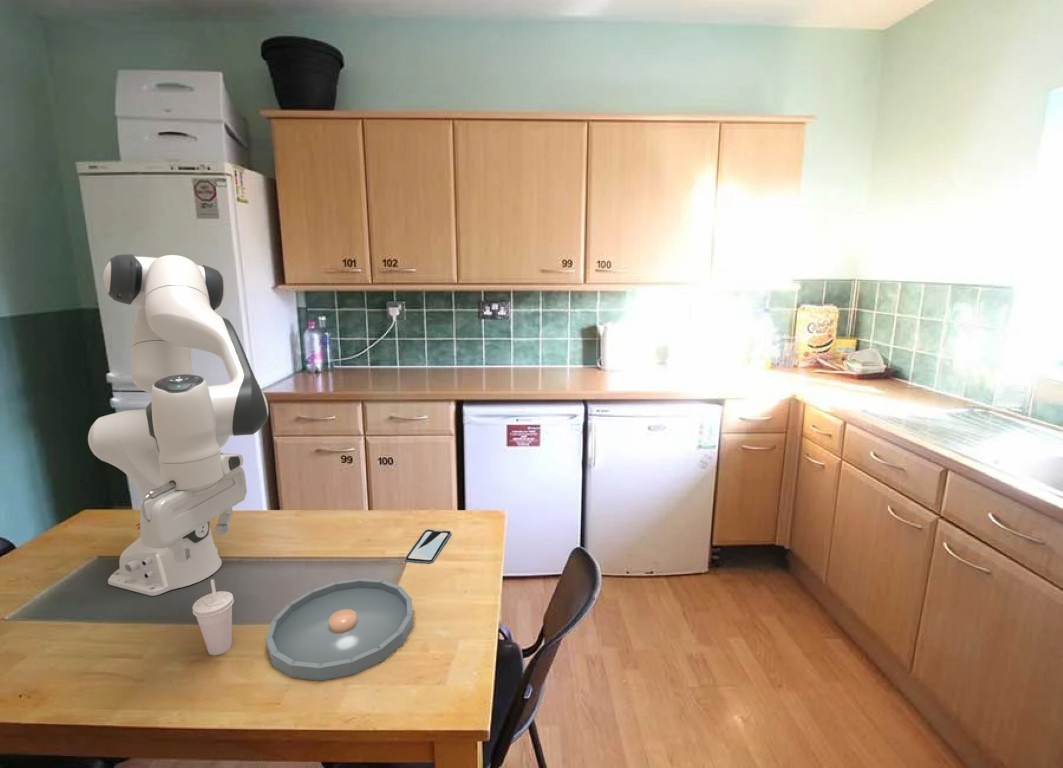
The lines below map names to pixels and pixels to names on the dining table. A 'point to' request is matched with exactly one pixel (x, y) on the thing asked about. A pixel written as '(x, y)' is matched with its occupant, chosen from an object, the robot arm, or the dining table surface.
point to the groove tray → (340, 629)
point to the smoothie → (215, 620)
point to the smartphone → (428, 546)
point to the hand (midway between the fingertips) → (204, 546)
